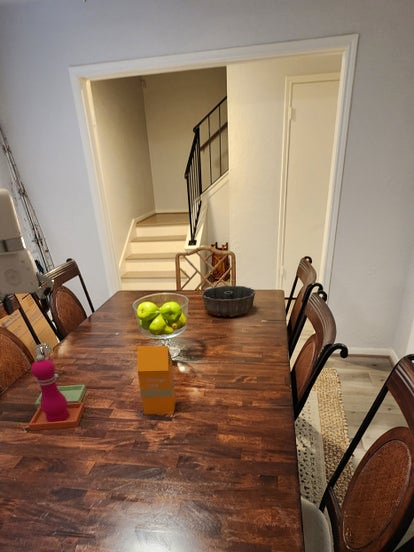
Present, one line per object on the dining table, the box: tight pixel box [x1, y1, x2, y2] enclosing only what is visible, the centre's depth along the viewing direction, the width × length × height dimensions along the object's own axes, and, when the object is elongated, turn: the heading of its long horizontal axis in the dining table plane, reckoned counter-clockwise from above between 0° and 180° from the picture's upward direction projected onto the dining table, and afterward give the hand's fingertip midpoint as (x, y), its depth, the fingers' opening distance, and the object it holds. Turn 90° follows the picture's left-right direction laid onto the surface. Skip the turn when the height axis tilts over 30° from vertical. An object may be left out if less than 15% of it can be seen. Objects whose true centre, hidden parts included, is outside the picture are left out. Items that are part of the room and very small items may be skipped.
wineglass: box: [34, 342, 59, 379], centre depth 130 cm, size 6×6×12 cm
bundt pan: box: [201, 285, 256, 318], centre depth 183 cm, size 26×26×10 cm
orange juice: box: [136, 345, 177, 415], centre depth 107 cm, size 8×9×20 cm
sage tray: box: [34, 384, 87, 410], centre depth 119 cm, size 13×10×2 cm
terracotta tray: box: [28, 401, 86, 431], centre depth 109 cm, size 13×10×2 cm
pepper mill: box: [30, 355, 69, 422], centre depth 104 cm, size 7×7×20 cm
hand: (29, 312), depth 101 cm, fingers open, 9 cm apart
